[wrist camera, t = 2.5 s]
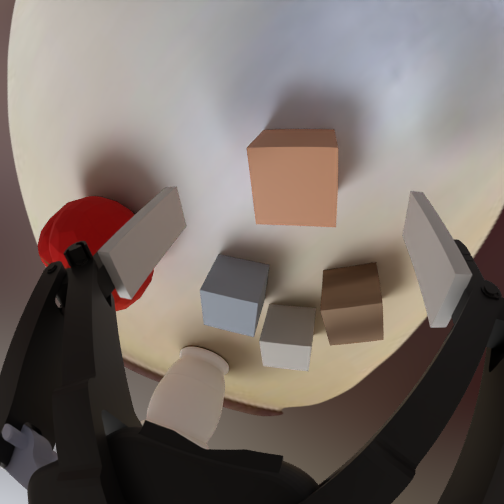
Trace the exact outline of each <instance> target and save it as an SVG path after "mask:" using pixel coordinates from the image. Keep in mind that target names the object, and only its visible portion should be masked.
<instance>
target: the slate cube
mask: <svg viewBox="0 0 504 504" xmlns="http://www.w3.org/2000/svg"><path fill="white" fill-rule="evenodd" d="M268 272H269V265H268V264H263V263H258V262H253V261H248V260H244V259H239V258H234V257H229V256H224V255H218V257H217V258H216V260H215V262H214V264H213V266H212V268H211V270H210V272H209V274H208V275H207V277H206V279H205V281H204V283H203V285H202V287H201V289H200V295H201V304H202V313H203V321H204V325H208V326H211V327H215V328H219V329H223V330H227V331H231V332H235V333H239V334H243V335H247V336H251V337H254V335H255V331H256V328H257V324H258V321H259V317H260V314H261V310H262V307H263V303H264V300H265V293H266V286H267V279H268Z"/></svg>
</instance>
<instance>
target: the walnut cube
mask: <svg viewBox="0 0 504 504" xmlns="http://www.w3.org/2000/svg"><path fill="white" fill-rule="evenodd" d="M320 311H321V315H322V318H323V322H324V325H325V329H326V332H327V336H328V339H329V343H330V345H341V344H351V343H360V342H369V341H377V340H383V304H382V296H381V289H380V282H379V276H378V270H377V264H376V262H375V263H368V264H362V265H355V266H349V267H342V268H336V269H329V270H323V282H322V296H321V308H320Z"/></svg>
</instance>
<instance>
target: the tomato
mask: <svg viewBox="0 0 504 504" xmlns="http://www.w3.org/2000/svg"><path fill="white" fill-rule="evenodd" d="M133 216H134V213H133V212H132V211H131V210H130V209H128V208H126V207H125V206H123V205H122V204H120V203H118V202H117V201H114V200H110V199H107V198H103V197H99V196H89V197H85V198H82V199H78V200H75V201H72V202H68V203H67V204H66V205H64V206H63V207H62V208H61V209H60V210H59V211H58V212H57V213H56V214H55V215H53V216H52V217H51V218H50V219H49V221H48V222H47V223H46V225H45V226H44V228H43V229H42V231H41V234H40V238H39V242H38V251H39V255H40V258H41V260H42V262H43V263H44V264H45V266H46V267H48V265H49V264H51V263H52V262H56V261H61V262H62V264H63V266H64V267H65V269H66V268H71V267H70V265H69V264H68V262H67V260H66V258H65V256H64V252H65V250H66V249H67V248H68V247H69V246H71V245H72V244H74V243H76V242H79V241H86V243H87V245H88V247H89V249H90V251H91V254H92V256H93V255H94V254H95V253H96V252H97V251H98V250H99V249H100V248H101V247H102V246H103V245H104V244H105V243H106V242H107V241H108V240H109V239H110V238H111V237H112V236H113V235H114V234H115V233H116V232H117V231H118V230H119V229H120V228H121V227H122V226H123V225H125V224H126V223H127V222H128V221H129V220H130V219H131V218H132V217H133ZM153 272H154V269H153V270H152V272H151V273H150V274H149V276H148V277H147V278H146V280H145V281H144V283H143V284H142V285H141V287H140V288H139V290H138V291H137V292H136V294H135V295H134V297H133V298H132V299H126V298H121V297H120V296H119V294H118V293H117V291H116V289H114V290H113V292H112V295H113V297H114V301H115V310H116V311H119V310H123V309H126V308H127V307H129V306H130V305H131V304H133V303H134V302H135V301H136V300H138V299H139V298H140V297H141V296H142V294H143V293H144V291H145V290H146V288H147V287H148V285H149V283H150V282H151V280H152V276H153Z"/></svg>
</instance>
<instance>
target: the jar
mask: <svg viewBox="0 0 504 504" xmlns="http://www.w3.org/2000/svg"><path fill="white" fill-rule="evenodd" d="M228 371H229V366H228V364H227V362H226V361H225V360H224V359H223V358H222V357H220V356H219V355H217V354H215V353H213V352H211V351H209V350H206V349H203V348H199V347H185V348H183V349H181V351H180V359H179V360H177V361H176V362H175V363H174V364H173V365H172V366H171V367H170V368H169V370H168V371H167V372H166V374H165V376H164V377H163V379H162V380H161V381H160V382H159V384H158V385H157V387H156V389H155V391H154V393H153V395H152V397H151V400H150V403H149V406H148V411H147V418H146V420H147V421H149V422H152V423H155V424H157V425H160V426H163V427H166V428H168V429H171V430H174V431H176V432H177V433H179V434H180V435H182V436H184V437H185V438H187V439H188V440H190V441H192V442H193V443H195V444H197V445H198V446H200V447H202V448H204V449H209V447H208V446H207V442H208V440H209V439H210V438H211V436H212V435H213V433H214V431H215V429H216V426H217V425H218V422H219V419H220V416H221V411H222V406H223V398H224V393H225V380H224V375H226V374H227V373H228ZM144 422H145V420H143V421H141V424H142V426H143V424H144Z"/></svg>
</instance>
